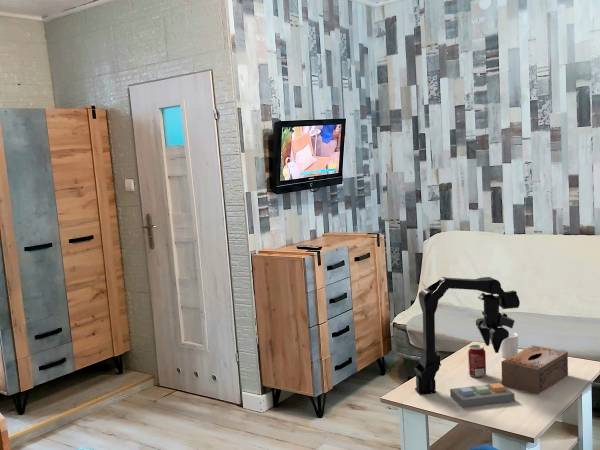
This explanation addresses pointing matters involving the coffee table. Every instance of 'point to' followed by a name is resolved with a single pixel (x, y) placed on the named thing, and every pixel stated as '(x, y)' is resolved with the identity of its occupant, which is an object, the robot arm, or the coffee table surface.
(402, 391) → the coffee table surface
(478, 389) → the green button
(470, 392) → the blue button
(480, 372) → the soda can
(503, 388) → the orange button
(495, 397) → the button panel
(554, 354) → the tissue box cover
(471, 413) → the coffee table surface
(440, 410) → the coffee table surface
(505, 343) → the white cup
